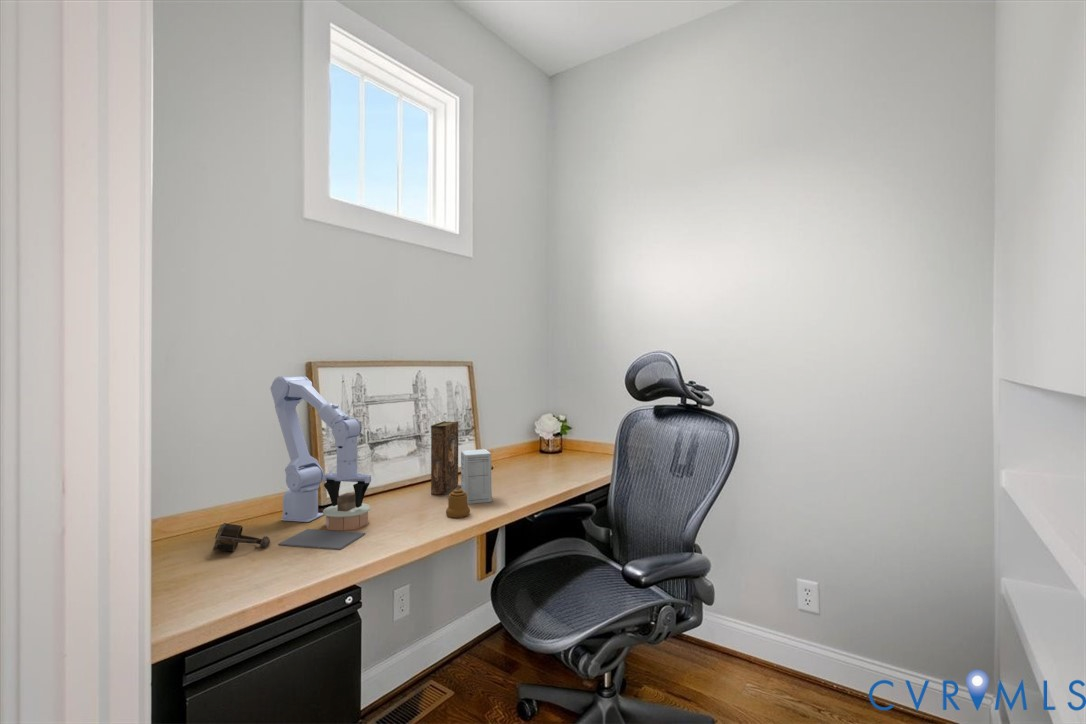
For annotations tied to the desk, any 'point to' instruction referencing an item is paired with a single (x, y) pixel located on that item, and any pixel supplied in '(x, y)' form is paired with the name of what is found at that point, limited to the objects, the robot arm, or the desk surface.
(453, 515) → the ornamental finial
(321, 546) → the mat
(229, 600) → the desk surface
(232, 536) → the dark brown handled piece
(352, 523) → the bowl
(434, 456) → the book
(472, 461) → the grey cabinet
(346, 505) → the lid
